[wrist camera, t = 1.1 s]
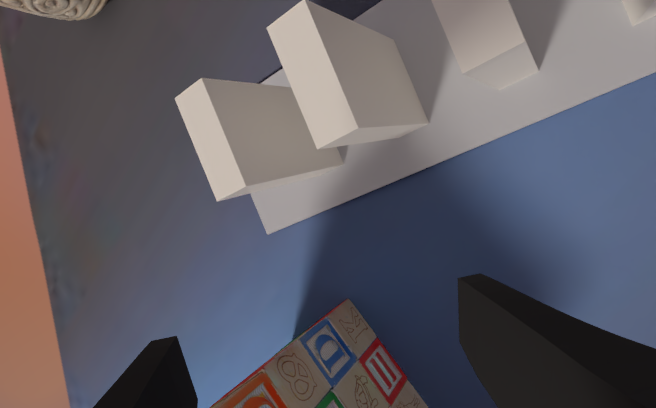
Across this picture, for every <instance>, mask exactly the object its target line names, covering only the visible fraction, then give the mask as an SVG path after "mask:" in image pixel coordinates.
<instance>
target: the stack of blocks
mask: <svg viewBox="0 0 656 408" xmlns="http://www.w3.org/2000/svg"><path fill="white" fill-rule="evenodd" d="M210 408H429V407H428V406H427V405H426V404H425V402H424V401H423V399H422V398H421V397H420V396H419V394H418V393H417V391H416V390H415V389H414V387H413V386H412V385H411V384H410V382H409V381H408V380H407V377H406V375H405V374H404V373H403V371H402V370H401V368H400V367H399V366H398V364H397V363H396V362H395V360H394V359H393V358H392V356H391V355H390V354H389V352H388V351H387V350H386V348H385V347H384V346H383V344H382V343H381V342H380V340H379V339H378V338H377V336H376V335H375V333H374V332H373V330H372V329H371V328H370V326H369V325H368V323H367V322H366V321H365V319H364V318H363V317H362V315H361V314H360V313H359V311H358V310H357V309H356V307H355V306H354V305H353V303H352V302H351V301H350V300H349V299H346V300H345V301H344V302H342V303H341V304H340V305H338V306H337V307H336V308H334V309H333V310H331V311H330V312H329V313H328V314H326V315H325V316H324V317H322V318H321V319H320V320H318V321H317V322H316V323H315V324H314V325H312V326H311V327H310V328H309V329H307V330H306V331H305V332H303V333H302V334H300V335H299V336H298V337H297V338H295V339H294V340H292V341H291V342H290V343H288V344H287V345H286V346H285V347H284V348H282V349H281V350H280V351H279V352H278V353H276V354H275V355H274V356H273V357H272V358H271V359H269V360H268V361H267V362H265V363H264V364H263V365H262V366H260V367H259V368H258V369H257V370H255V371H254V372H253V373H252V374H251V375H249V376H248V377H247V378H246V379H244V380H243V381H242V382H241V383H239V384H238V385H237V386H236V387H234V388H233V389H232V390H231V391H229V392H228V393H226V394H225V395H224V396H223V397H222V398H221V399H220V400H218V401H217V402H216V403H214V404H213V405H212V406H211V407H210Z"/></svg>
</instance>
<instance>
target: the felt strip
mask: <svg viewBox="0 0 656 408" xmlns="http://www.w3.org/2000/svg"><path fill="white" fill-rule="evenodd" d="M509 2H510V5H511V7H512V9H513V12H514V14H515V16H516V19H517V21H518V23H519V26H520V28H521V30H522V33H523V35H524V37H525V40H526V42H527V44H528V47H529V49H530V51H531V54H532V56H533V58H534V61H535V63H536V65H537V68H538V70H539V71H538V72H536V73H534V74H532V75H530V76H528V77H526V78H524V79H521V80H519V81H517V82H515V83H513V84H511V85H509V86H507V87H505V88H503V89H500V90H499V89H496V88H494V87H492V86H489V85H487V84H485V83H482V82H480V81H478V80H475V79H473V78H471V77H468V76H466V75H464V74H462V72H461V69H460V67H459V65H458V62H457V60H456V57H455V55H454V53H453V50H452V48H451V46H450V43H449V41H448V39H447V36H446V34H445V32H444V29H443V27H442V24H441V22H440V20H439V17H438V15H437V13H436V10H435V8H434V6H433V3H432V1H431V0H382V1H381V2H379V3H378V4H376V5H375V6H373V7H372V8H370V9H369V10H367V11H366V12H365V13H363V14H362V15H360V16H359V17H357V18H356V19H354V20H353V21H354V22H356V23H358V24H361V25H363V26H365V27H367V28H369V29H372V30H374V31H376V32H378V33H380V34H382V35H385V36H387V37H389V38H391V39H393V40H394V42H395V44H396V46H397V49H398V51H399V53H400V56H401V58H402V61H403V63H404V65H405V68H406V70H407V72H408V75H409V77H410V79H411V82H412V84H413V87H414V89H415V91H416V94H417V96H418V98H419V101H420V103H421V106H422V108H423V110H424V113H425V115H426V117H427V120H428V122H429V124H427V125H425V126H423V127H421V128H419V129H417V130H415V131H412V132H410V133H408V134H406V135H404V136H402V137H400V138H395V139H388V140H381V141H374V142H367V143H360V144H352V145H345V146H338V147H337V149H338V151H339V153H340V156H341V158H342V161H343V163H344V164H343V165H341V166H339V167H337V168H335V169H333V170H331V171H329V172H326V173H324V174H322V175H320V176H316V177H312V178H308V179H304V180H300V181H296V182H293V183H289V184H285V185H281V186H277V187H273V188H269V189H265V190H261V191H257V192H253V193H250V194H251V196H252V199H253V201H254V203H255V206H256V208H257V211H258V213H259V215H260V218H261V220H262V223H263V225H264V228H265V230H266V232H267V235H268V234H271V233H273V232H275V231H278V230H280V229H283V228H285V227H287V226H290V225H292V224H294V223H297V222H299V221H302V220H304V219H306V218H309V217H311V216H314V215H316V214H318V213H321V212H323V211H325V210H328V209H330V208H333V207H335V206H337V205H340V204H342V203H345V202H347V201H349V200H352V199H354V198H356V197H359V196H361V195H364V194H366V193H368V192H371V191H373V190H376V189H378V188H380V187H383V186H385V185H387V184H390V183H392V182H395V181H397V180H399V179H402V178H404V177H407V176H409V175H411V174H414V173H416V172H418V171H421V170H423V169H426V168H428V167H430V166H433V165H435V164H437V163H440V162H442V161H445V160H447V159H449V158H452V157H454V156H457V155H459V154H461V153H464V152H466V151H468V150H471V149H473V148H476V147H478V146H480V145H483V144H485V143H488V142H490V141H492V140H495V139H497V138H499V137H502V136H504V135H507V134H509V133H511V132H514V131H516V130H519V129H521V128H523V127H526V126H528V125H530V124H533V123H535V122H538V121H540V120H542V119H545V118H547V117H550V116H552V115H554V114H557V113H559V112H561V111H564V110H566V109H569V108H571V107H573V106H576V105H578V104H580V103H583V102H585V101H588V100H590V99H592V98H595V97H597V96H600V95H602V94H604V93H607V92H609V91H611V90H614V89H616V88H619V87H621V86H623V85H626V84H628V83H631V82H633V81H635V80H638V79H640V78H642V77H645V76H647V75H650V74H652V73H654V72H656V16H654V17H651V18H649V19H647V20H645V21H643V22H641V23H639V24H637V25H635V26H632V24H631V21H630V19H629V17H628V14H627V12H626V10H625V7H624V5H623V3H622V0H509ZM260 84H265V85H274V86H284V87H291V85H290V83H289V81H288V78H287V76H286V73H285V71H284V69H283V68H282V69H281V70H279V71H278V72H277V73H275V74H274V75H272V76H271V77H269V78H268V79H266V80H265V81H263V82H262V83H260Z"/></svg>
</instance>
